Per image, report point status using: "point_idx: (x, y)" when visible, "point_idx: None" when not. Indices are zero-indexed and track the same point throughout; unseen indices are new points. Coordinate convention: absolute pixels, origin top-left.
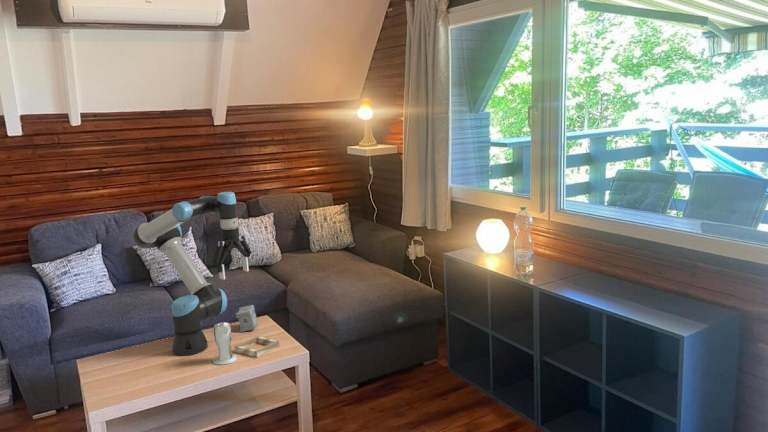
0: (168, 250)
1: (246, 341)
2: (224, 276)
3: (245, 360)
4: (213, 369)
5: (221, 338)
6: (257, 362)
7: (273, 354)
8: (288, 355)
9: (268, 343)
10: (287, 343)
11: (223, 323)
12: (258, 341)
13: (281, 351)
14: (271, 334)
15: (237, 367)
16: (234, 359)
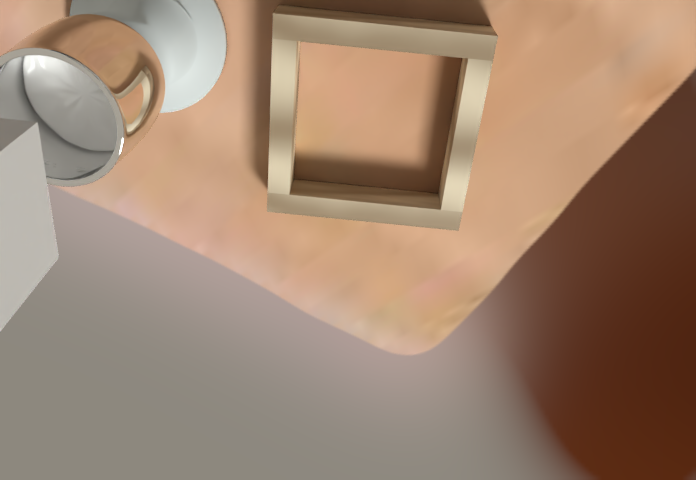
0: None
1: (379, 30)
2: (10, 293)
3: (211, 156)
4: None
5: (41, 123)
6: (225, 232)
7: (345, 246)
8: (365, 318)
9: (448, 150)
10: (509, 228)
11: (103, 84)
12: (463, 58)
13: (396, 261)
14: (632, 37)
15: (122, 175)
16: (172, 103)
